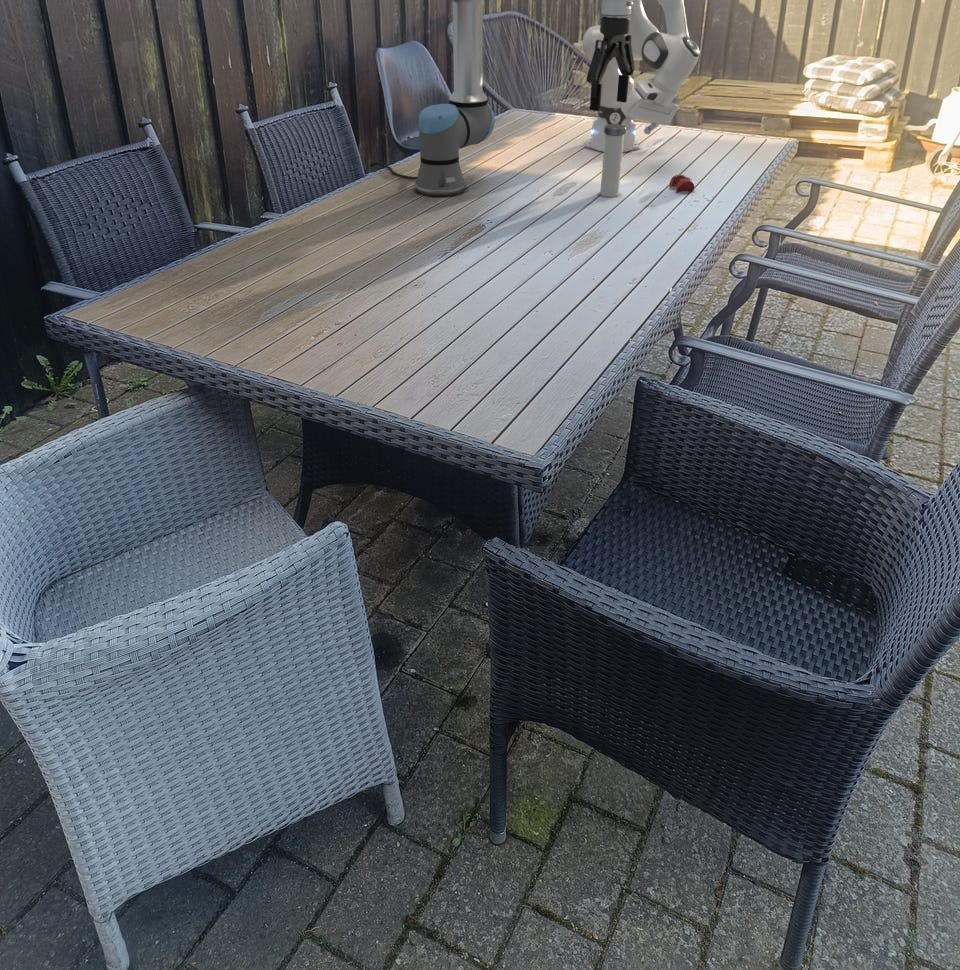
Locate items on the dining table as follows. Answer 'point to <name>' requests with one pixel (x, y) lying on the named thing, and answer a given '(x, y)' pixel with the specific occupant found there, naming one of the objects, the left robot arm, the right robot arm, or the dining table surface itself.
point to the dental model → (681, 183)
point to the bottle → (611, 165)
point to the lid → (615, 129)
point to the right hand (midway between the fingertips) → (635, 130)
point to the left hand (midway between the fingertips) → (608, 106)
